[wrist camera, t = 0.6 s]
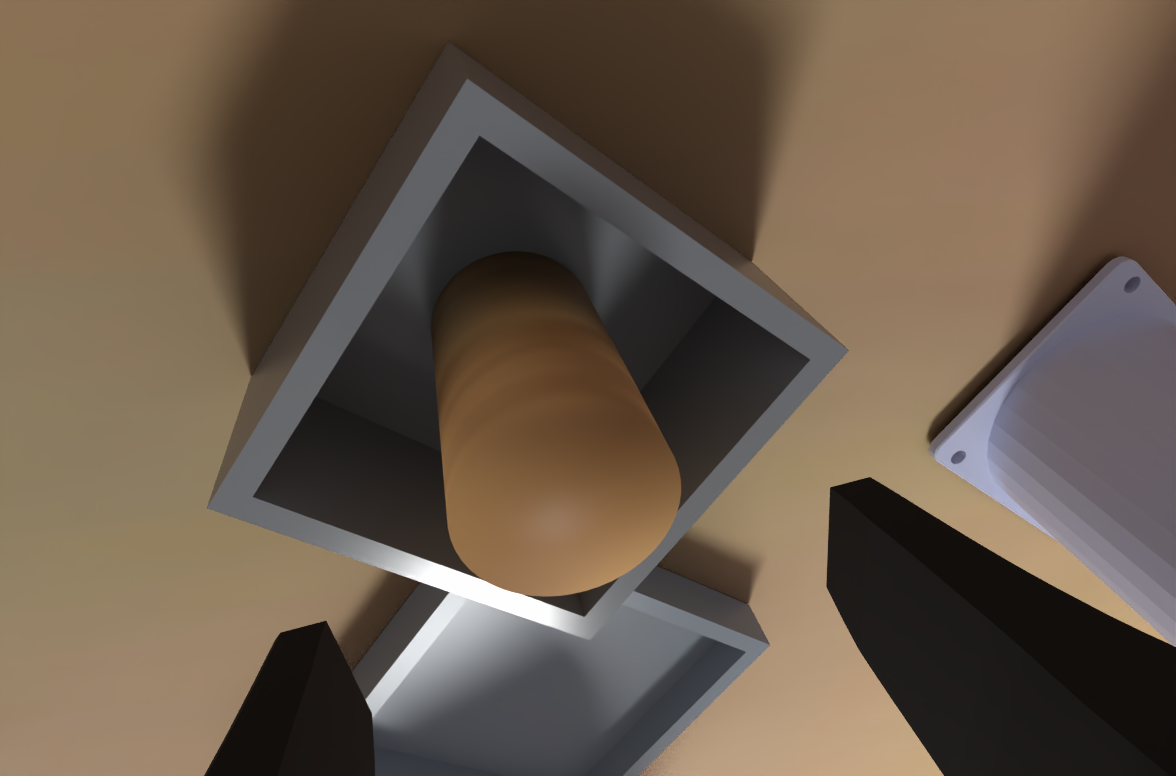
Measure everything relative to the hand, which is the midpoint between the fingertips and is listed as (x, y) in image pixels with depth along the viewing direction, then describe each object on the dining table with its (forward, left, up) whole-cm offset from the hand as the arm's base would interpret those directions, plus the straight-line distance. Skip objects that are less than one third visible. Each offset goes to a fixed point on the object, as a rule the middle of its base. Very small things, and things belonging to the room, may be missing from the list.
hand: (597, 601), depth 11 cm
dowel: (0, 0, -9) cm, 9 cm away
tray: (-8, +11, -10) cm, 17 cm away
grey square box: (0, 0, -10) cm, 10 cm away
